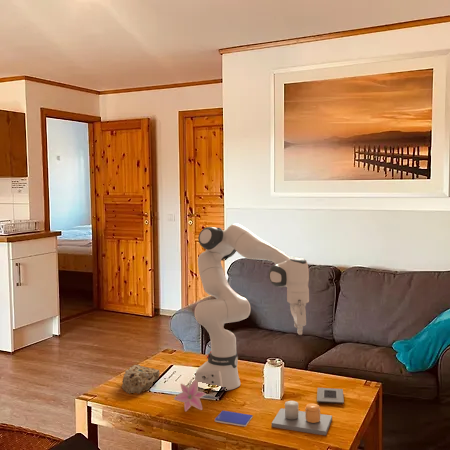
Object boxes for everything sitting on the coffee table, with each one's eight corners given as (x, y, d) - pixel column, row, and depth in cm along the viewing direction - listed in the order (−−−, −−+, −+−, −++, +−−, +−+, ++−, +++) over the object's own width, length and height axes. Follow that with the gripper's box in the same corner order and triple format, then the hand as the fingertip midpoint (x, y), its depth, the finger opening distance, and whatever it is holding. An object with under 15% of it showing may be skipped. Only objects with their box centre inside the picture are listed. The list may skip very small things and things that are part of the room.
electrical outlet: (343, 407, 210) (343, 401, 210) (317, 405, 212) (317, 399, 212) (342, 393, 223) (342, 388, 222) (317, 392, 225) (317, 387, 224)
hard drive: (214, 419, 199) (245, 424, 194) (222, 409, 207) (252, 414, 202) (214, 423, 199) (245, 428, 195) (222, 413, 207) (252, 418, 202)
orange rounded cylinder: (304, 420, 194) (304, 407, 193) (308, 415, 198) (308, 402, 198) (317, 423, 191) (317, 410, 191) (321, 417, 196) (321, 405, 195)
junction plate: (271, 426, 194) (271, 408, 193) (280, 411, 206) (280, 394, 205) (325, 435, 187) (325, 416, 186) (332, 419, 199) (332, 401, 198)
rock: (130, 378, 246) (135, 357, 246) (159, 387, 244) (164, 366, 244) (114, 391, 226) (119, 369, 226) (146, 401, 224) (151, 378, 224)
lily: (169, 412, 210) (173, 396, 205) (178, 390, 220) (182, 374, 215) (198, 421, 209) (203, 406, 204) (205, 399, 219) (210, 384, 215)
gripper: (309, 303, 203) (310, 338, 204) (302, 291, 223) (302, 323, 224) (293, 303, 203) (293, 338, 204) (287, 292, 223) (287, 323, 224)
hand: (298, 330), depth 214 cm, fingers open, 8 cm apart
